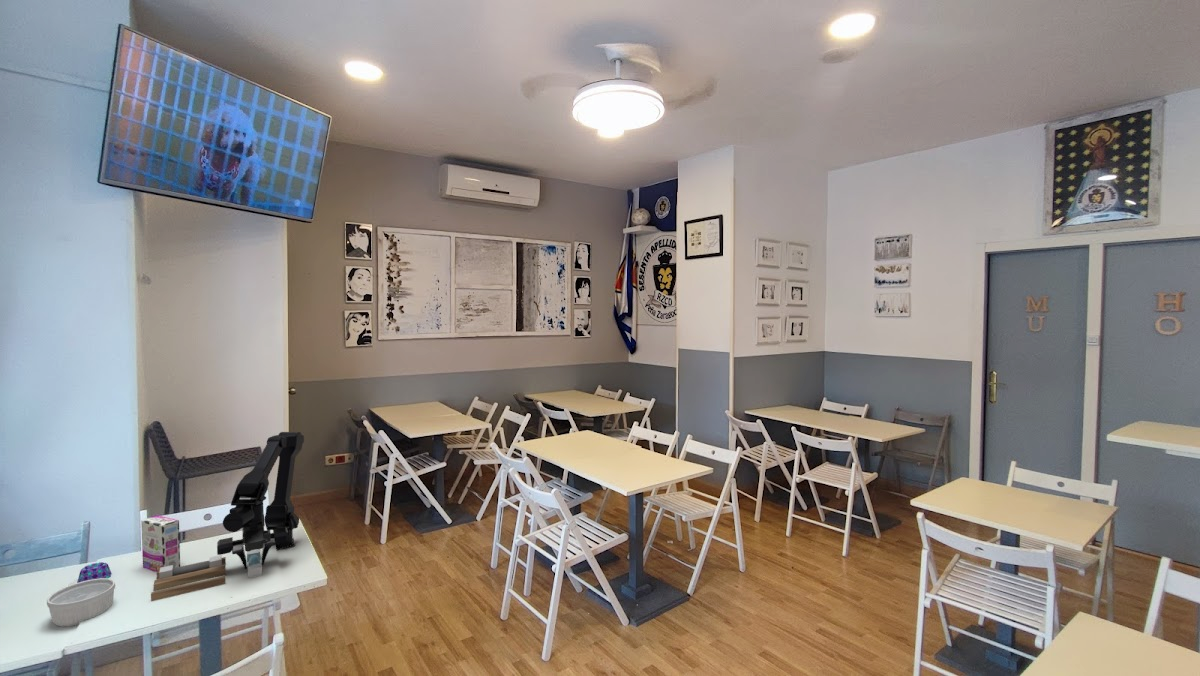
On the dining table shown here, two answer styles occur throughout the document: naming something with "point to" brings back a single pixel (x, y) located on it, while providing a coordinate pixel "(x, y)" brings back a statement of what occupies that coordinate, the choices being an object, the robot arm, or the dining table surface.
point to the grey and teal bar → (254, 563)
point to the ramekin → (81, 601)
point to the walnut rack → (184, 579)
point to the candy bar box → (160, 542)
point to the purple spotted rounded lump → (93, 572)
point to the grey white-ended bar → (190, 567)
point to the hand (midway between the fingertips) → (254, 566)
